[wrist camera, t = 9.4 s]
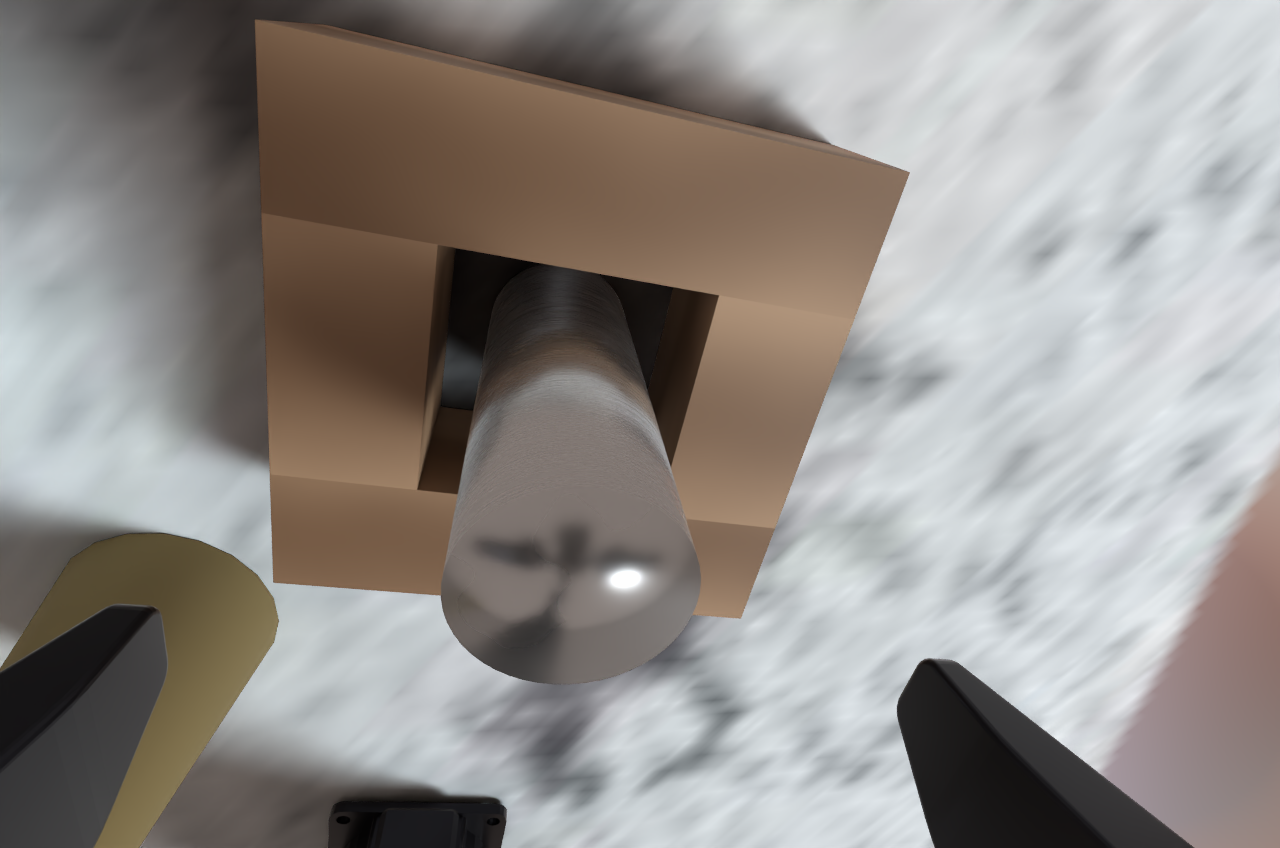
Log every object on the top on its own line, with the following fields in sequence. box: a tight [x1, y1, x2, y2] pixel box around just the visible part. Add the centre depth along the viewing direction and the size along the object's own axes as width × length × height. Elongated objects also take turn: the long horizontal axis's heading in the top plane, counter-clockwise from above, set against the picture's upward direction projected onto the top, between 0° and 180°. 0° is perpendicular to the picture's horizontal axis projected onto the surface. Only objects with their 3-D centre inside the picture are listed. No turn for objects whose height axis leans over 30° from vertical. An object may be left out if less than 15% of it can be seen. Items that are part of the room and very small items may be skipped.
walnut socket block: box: [255, 19, 910, 618], centre depth 16 cm, size 12×12×4 cm
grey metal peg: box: [441, 264, 701, 684], centre depth 14 cm, size 4×4×10 cm
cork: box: [0, 533, 279, 848], centre depth 16 cm, size 6×6×11 cm
